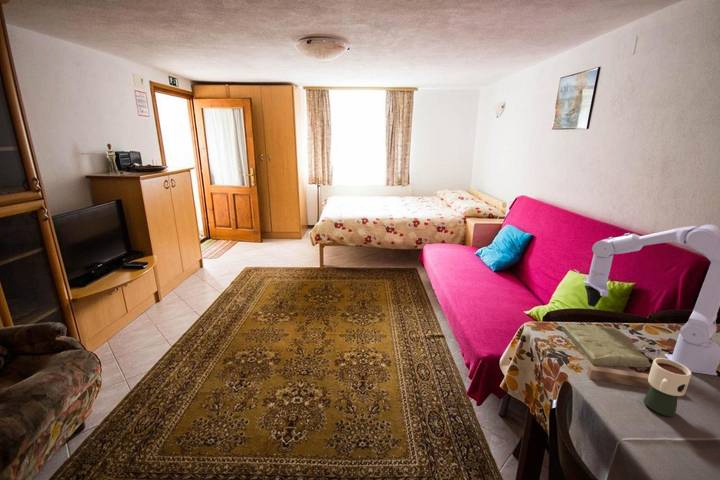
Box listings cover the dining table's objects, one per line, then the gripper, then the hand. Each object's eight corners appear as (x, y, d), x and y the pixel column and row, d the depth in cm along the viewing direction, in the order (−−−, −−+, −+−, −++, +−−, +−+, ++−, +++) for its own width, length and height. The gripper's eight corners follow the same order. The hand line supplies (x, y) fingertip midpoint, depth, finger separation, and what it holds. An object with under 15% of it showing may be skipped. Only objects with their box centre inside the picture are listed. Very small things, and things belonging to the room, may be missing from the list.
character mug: (671, 427, 80) (687, 383, 76) (635, 409, 85) (648, 367, 81) (681, 406, 86) (696, 365, 82) (646, 391, 91) (659, 351, 88)
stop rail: (674, 387, 93) (677, 378, 92) (679, 392, 91) (682, 383, 90) (586, 374, 98) (588, 365, 97) (589, 378, 96) (591, 369, 95)
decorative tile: (591, 365, 103) (593, 356, 102) (560, 330, 122) (562, 322, 121) (655, 370, 101) (658, 360, 100) (614, 333, 120) (616, 325, 119)
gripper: (579, 263, 126) (572, 295, 130) (595, 278, 112) (587, 313, 116) (600, 265, 124) (592, 297, 128) (618, 280, 111) (609, 316, 115)
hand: (591, 305), depth 122 cm, fingers closed
